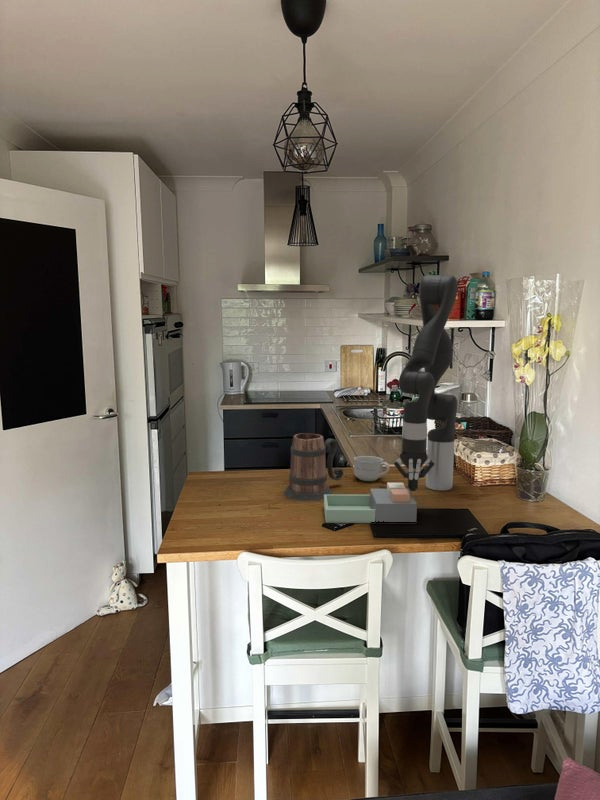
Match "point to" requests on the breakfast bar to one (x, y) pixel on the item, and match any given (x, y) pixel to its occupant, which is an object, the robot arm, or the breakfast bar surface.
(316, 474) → the tankard
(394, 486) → the cream tile
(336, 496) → the box
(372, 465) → the teacup
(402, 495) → the terracotta tile
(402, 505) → the grey drawer casing
